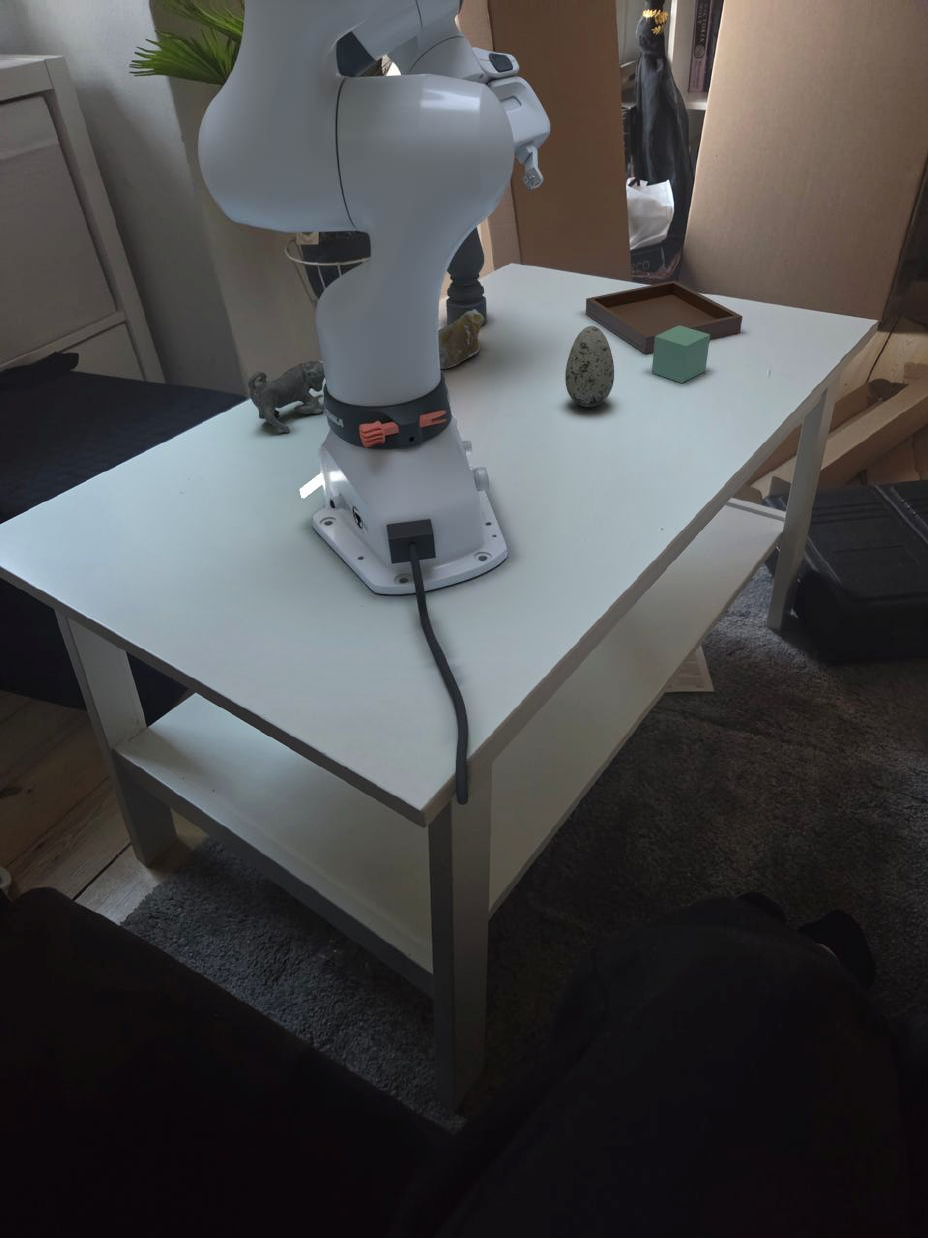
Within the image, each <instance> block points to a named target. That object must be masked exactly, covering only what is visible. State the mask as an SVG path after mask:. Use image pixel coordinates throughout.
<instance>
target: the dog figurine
mask: <svg viewBox="0 0 928 1238" xmlns="http://www.w3.org/2000/svg"><path fill="white" fill-rule="evenodd" d="M324 380H325V375H324V369H323V363H322V361H317V360H308V361H305V362H300V363H298V364H297V365H295V366H293V367H291V368H289V369H287V370H286V371H284V373H282V375H281V376H280V377H278V378H276V379H274V380H267V373H265V372H263V371H258V372H255V373H254V374H252V375H251V376H250V378H249V380H248V382H247V385H248V388H249V397H250V399H251V402H252V403H253V404H254V406H255V407H256V408H257V410H258V419H260V420H265V421H266V422H267V423H268V424H271V425H272V426H273V427H274V428H276V429H277V430H280V431H282V432H283V433H284V434H285V433H289V432H290V431H291V430H290V428H289V426H287V425H285V424H283V423H282V422H281V421H280V420H278V419H277V418H276V417H277V416H278V415H279V414H280V411H279V410H277V409H282V408H285V407H286V406H289V405H291V404H294V403H297V402H301V404H298V405H296V406H295V407H294V408H293V411H295V412H297V413H299V414H303V415H309V414H315V415H318V414H321V413H323V409H321V408H320V405H321V402H320V400H319V399H318V398H316V397H315V396H314V395H312V393H310V390H311V389H312V390H313V391H315V392H316V393H318V392H319V393H320V392H321V391H323V387H324V384H323V383H324Z"/></svg>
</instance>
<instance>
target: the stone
mask: <svg viewBox="0 0 928 1238" xmlns="http://www.w3.org/2000/svg"><path fill="white" fill-rule="evenodd" d="M483 321H484V318H483V316H482V315H481V314H480V313H479V312H477V311H476V310H475V309H474V310H472V311H468V312H466V313H465V314H464V315H463V316H461V317H460V318H459V319H457V320H455V321H454V322H453V323H452V324H450V325H448V324H447V325H445V326H442V327H441V328H438V334H439V359H440V370H446V369H450V368H452V367H456V366H457V365H459V364H460V363H462V362H463V361H465V360H467V359H469V358H471V357H473V356H474V355H477V353H479V351H480V350H481V348H480V340H479V334H480V329H481V327H482V326H481V325H482V323H483Z"/></svg>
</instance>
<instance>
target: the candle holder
mask: <svg viewBox="0 0 928 1238" xmlns="http://www.w3.org/2000/svg"><path fill="white" fill-rule="evenodd" d="M484 266H485V253H484V249H483V245H482V242H481V238H480V234H479V230H478V226H477V227H476V228H475V229H474V230H473V231H472V232H471V233H470V234H469V235H468V236H467V238H466V239H465V240H464V241H463V242H462V244H461V245H460V247H459V248H458V250H457V251H456V253H455V255H454V256H453V258H452V260H451V262H450V264H449V267H448V269H447V271H446V273H447V274H449V279H450V280H451V283H450V284H449V286H448V288H447V289H446V296H447V297H448V298H447V299H446V300H445V305H446V319H447V321H446V323H447V326H448V325H450V324H452V323H453V322H454V321H455V320H457V319H459V318H460V317H461V316H463V315H464V314H465V313H466V312H468V311H472V310H474V309H475V310H476V311H477V312H479V313H480V314H481V315H482V316H483V318H484V321H483V323H482V325H481V327H483V326H485V325H486V324H488V312H487V311H488V309H487V298H486V297H485V295H484V294H485V287H484V286H483V285H482V283H481V281H480V280H479V278H480V277H481V276H480V273H481V271H482V269H483V267H484Z"/></svg>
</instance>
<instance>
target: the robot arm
mask: <svg viewBox="0 0 928 1238" xmlns="http://www.w3.org/2000/svg"><path fill="white" fill-rule="evenodd" d="M463 4H464V0H244V16H243V17H244V18H243V27H242V29H243V30H242V35H241V41H240V45H239V50H238V53H237V57H236V60H235V62H234V65H233V67H232V70H231V72H230V73H229V76H228V78H227V80H226V82H225V83H224V84H223V86H222V87H221V88H220V89H219V92H218V93H216V95H215V96H214V97H213V99H212V100H211V101H210V103H209V104H208V106H207V108H206V110H205V112H204V115H203V117H202V120H201V123H200V127H199V130H198V139H197V156H198V163H199V164H198V165H199V168H200V171H201V176H202V179H203V181H204V184H205V186H206V188H207V191H208V193H209V194H210V196H211V197H212V200H213V201H214V202H215V204H216V205H217V206H218V208H219V209H220V210H221V212H222V213H223V214H224V215H226V216H227V217H228V218H229V220H231V221H232V222H234V223H236V224H237V223H238V224H242V225H246V226H250V227H255V228H260V229H263V230H270V231H275V232H282V233H286V234H287V233H323V232H324V233H325V232H327V233H328V232H329V233H330V232H360V233H366V234H367V235H368V237H369V244H370V257H369V258H368V259H366V260H365V261H363V262H362V263H360V264H358V265H356V266H355V267H352V269H350V270H348V271H346V272H345V273H343V274H341V275H340V276H339V277H337V278H336V279H334V280H333V281H332V282H330V284H329V285H328V286H326V288H324V290H323V292H322V293H321V295H320V297H319V299H318V300H317V304H316V308H315V315H314V323H315V328H316V334H317V339H318V340H317V341H318V345H319V351H320V356H321V357H320V358H321V362H322V363H323V369H324V375H325V379H324V380H325V383H324V384H323V388H322V396H323V402H322V404H323V410H324V412H325V415H326V420H327V425H328V427H329V430H328V434H327V435H326V438H325V439H324V440H323V442H322V443H321V445H320V447H319V448H318V449H317V450H318V451H317V454H318V455H317V456H318V462H319V469H320V474H318V475H316V476H315V477H314V478H313V479H312V480H310V481H309V482H308V483H306V484H305V485H304V486H303V487H301V488H300V489H299V492H300V496H301V499H302V498H303V499H305V498H307V496H308V495H310V494H312V493H313V492H314V491H315V490H316V489H318V488H319V487H320V486H321V485H322V490H323V496H324V504H325V505H324V506H323V507H322V508H321V509H319V510H318V511H317V512H316V513H314V515H313V516H312V527H313V529H314V530H315V532H316V533H318V534H319V536H320V537H321V538H322V539H323V540H324V541H325V542H326V543H327V544H328V545H329V546H330V548H331V549H333V550H334V552H335V553H336V554H337V555H338V556H339V557H340V558H341V559H342V560H343V561H344V562H345V563H346V564H347V565H348V567H349V568H350V569H351V570H352V571H353V572H354V573H355V574H356V575H357V576H358V577H359V579H361V581H362V582H363V583H365V585H366V586H367V587H368V588H369V589H370V590H371V591H372V592H374V593H376V594H381V595H382V594H383V595H407V594H414V593H415V596H416V604H417V609H418V615H419V616H418V617H419V620H420V623H421V627H422V630H423V631H422V632H423V633H424V637H425V639H426V642H427V644H428V646H429V648H430V650H431V652H432V654H433V657H434V658H435V660H436V663H437V665H438V668H439V671H440V672H441V675H442V677H443V679H444V682H445V684H446V686H447V688H448V691H449V693H450V696H451V699H452V703H453V705H454V709H455V714H456V719H457V743H456V755H455V783H456V784H455V786H456V787H455V788H456V798H457V803H458V804H459V805H461V806H464V805H466V804H468V802H469V793H468V779H467V757H468V755H467V753H468V741H469V723H468V722H469V721H468V714H467V710H466V705H465V701H464V698H463V695H462V692H461V690H460V687H459V685H458V683H457V681H456V679H455V676H454V674H453V671H452V670H451V667H450V665H449V663H448V659H447V658H446V656H445V654H444V652H443V649H442V648H441V645H440V644H439V641H438V639H437V637H436V635H435V633H434V630H433V626H432V623H431V620H430V616H429V610H428V605H427V599H426V592H427V591H432V590H437V589H441V588H444V587H447V586H451V585H455V584H457V583H462V582H464V581H467V580H470V579H473V578H475V577H477V576H481V575H483V574H485V573H487V572H489V571H490V570H492V569H494V568H496V567H497V566H498V565H500V564H501V563H502V562H504V560H506V559H507V558H508V556H509V553H508V547H507V543H506V540H505V538H504V536H503V533H502V530H501V528H500V525H499V522H498V520H497V517H496V515H495V512H494V509H493V507H492V504H491V502H490V500H489V496H488V494H487V492H486V491H488V490H489V489H490V479H489V473H488V470H487V468H486V467H484V466H481V467H475V468H473V467H472V466H471V465H470V462H469V459H468V456H467V455H472V454H473V446H472V441H471V440H462V437H461V435H460V432H459V428H458V419H457V417H456V416H453V414H452V409H451V402H450V401H451V399H450V393H449V388H448V386H447V383H446V377H445V374H444V373H443V371H442V369H440V359H439V334H438V330H439V315H440V313H439V312H440V310H439V309H440V298H441V297H440V296H441V293H442V288H443V283H444V280H445V277H446V275H447V269H448V267H449V264H450V262H451V260H452V258H453V256H454V255H455V253H456V251H457V250H458V248H459V247H460V245H461V244H462V242H463V241H464V240H465V239H466V238H467V236H468V235H469V234H470V233H471V232H472V231H473V230H474V229H475V228H476V227H477V228H478V226H479V225H480V224H481V223H483V222H484V221H485V220H486V219H488V218H489V217H490V215H492V214H493V212H494V211H495V210H496V209H497V208H498V206H499V205H500V203H501V202H502V200H503V198H504V197H505V194H506V192H507V190H508V188H509V185H510V182H511V179H512V175H513V170H514V163H515V158H517V160H518V162H519V163H520V164H521V165H522V164H523V165H524V175H523V176H522V178H521V180H522V182H523V184H524V185H525V188H526V190H528V191H530V190H534V189H536V188H539V187H540V186H541V184H542V183H544V176H543V174H542V172H541V171H540V169H539V159H538V158H539V157H538V156H539V155H538V149H540V148H541V146H543V144H544V143H545V142H546V140H547V139H548V137H549V136H550V135H551V121H550V119H549V117H548V114H547V112H546V111H545V108H544V107H543V105H542V102H541V101H540V100H539V98H538V96H537V94H536V93H535V91H534V90H533V88H532V87H531V85H530V84H529V82H528V81H527V80H525V79H524V78H522V77H521V76H518V73H519V71H520V65H519V63H518V60H517V59H516V57H514V56H513V55H512V54H509V53H503V52H495V51H491V50H487V49H482V48H480V47H476V46H473V47H472V45H471V43H470V41H469V40H468V38H467V37H466V36H465V35H464V34H463V32H461V30H460V28H459V27H458V25H457V23H456V17H457V16H458V15H460V13H461V10H462V8H463ZM385 56H386V57H388V59H389V60H390V61H391V62H392V63H393V64H394V65H395V66H396V67H397V69H398V71H399V73H400V74H395V75H376V76H375V75H374V76H361V75H362V74H364V72H366V71H367V70H369V69H370V68H371V67H372V66H374V65H375V64H376V63H378V61H379V60H380V59H382V58H383V57H385Z"/></svg>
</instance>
